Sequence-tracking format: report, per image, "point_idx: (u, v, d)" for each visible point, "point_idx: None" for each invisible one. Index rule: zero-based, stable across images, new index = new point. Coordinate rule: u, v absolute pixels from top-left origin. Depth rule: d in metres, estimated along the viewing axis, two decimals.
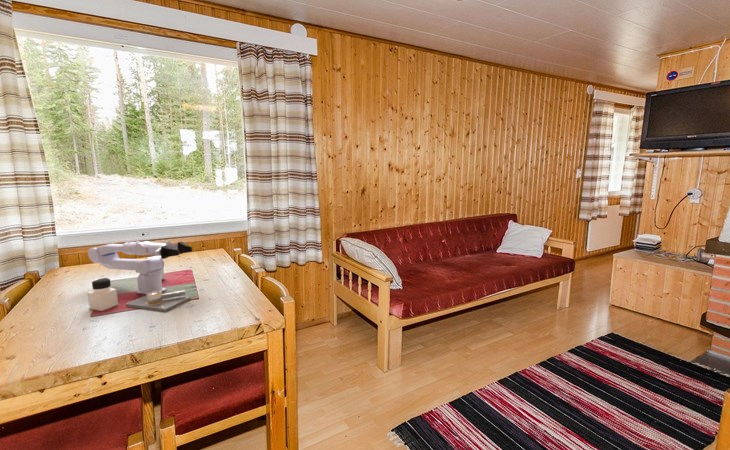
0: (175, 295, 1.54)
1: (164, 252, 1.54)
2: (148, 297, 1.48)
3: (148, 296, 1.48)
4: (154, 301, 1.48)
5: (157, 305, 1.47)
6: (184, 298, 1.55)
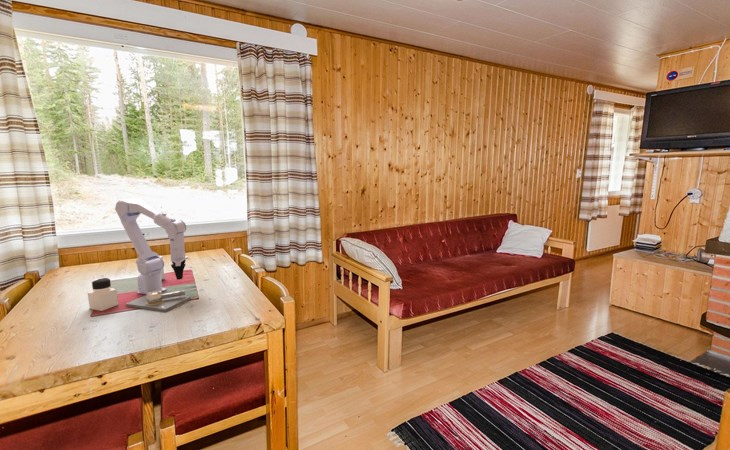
0: (175, 295, 1.54)
1: None
2: (148, 297, 1.48)
3: (148, 296, 1.48)
4: (154, 301, 1.48)
5: (157, 305, 1.47)
6: (184, 298, 1.55)
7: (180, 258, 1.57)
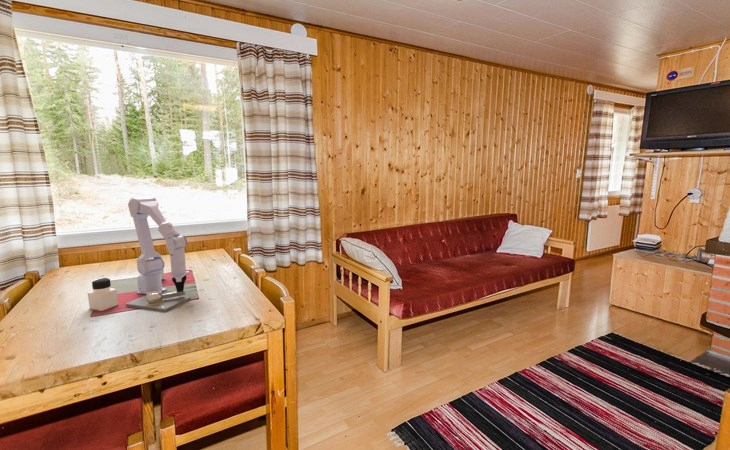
0: (175, 295, 1.54)
1: None
2: (148, 297, 1.48)
3: (148, 296, 1.48)
4: (154, 301, 1.48)
5: (157, 305, 1.47)
6: (184, 298, 1.55)
7: (181, 273, 1.54)
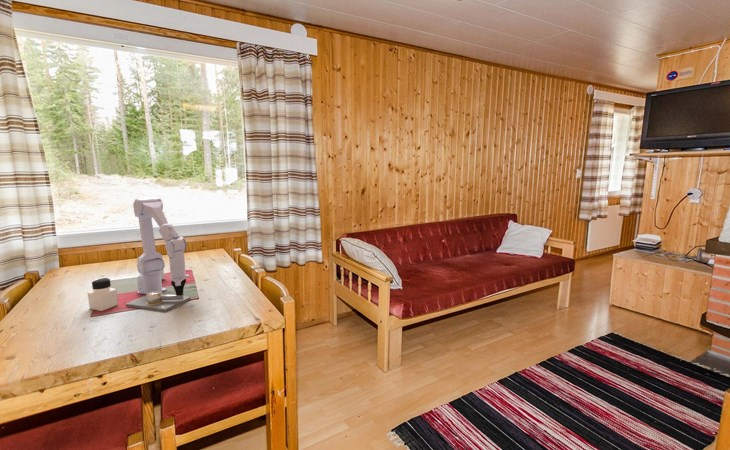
0: (173, 298, 1.51)
1: None
2: (147, 296, 1.49)
3: None
4: (150, 301, 1.48)
5: (157, 305, 1.47)
6: (184, 298, 1.55)
7: (180, 277, 1.50)
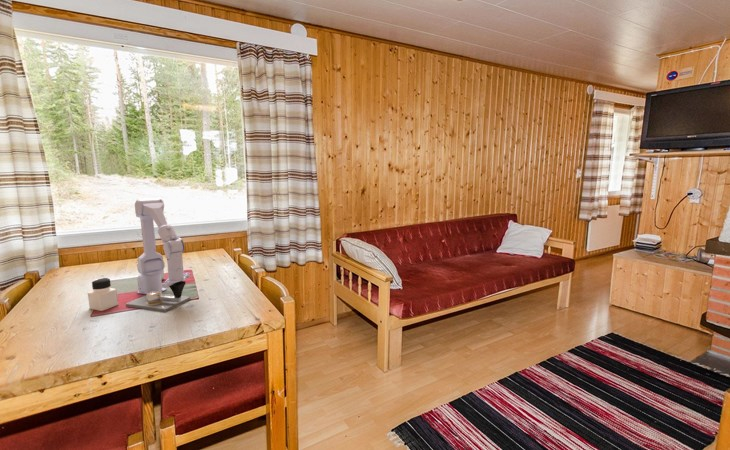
0: (170, 300, 1.49)
1: None
2: None
3: None
4: (149, 301, 1.48)
5: (157, 305, 1.47)
6: (184, 298, 1.55)
7: (173, 279, 1.46)
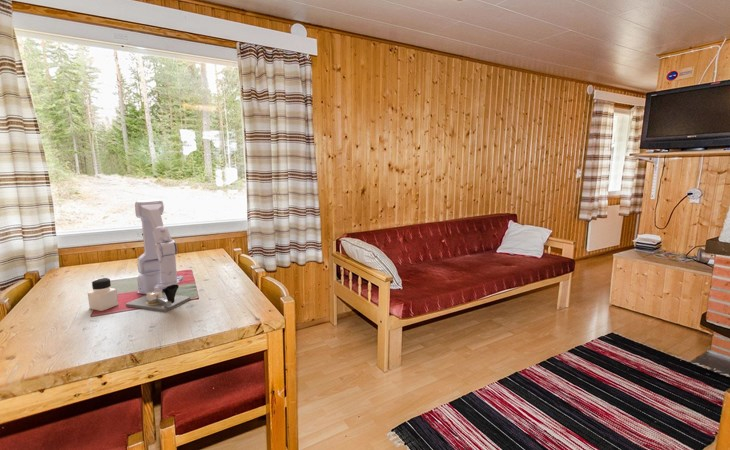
0: (162, 303, 1.46)
1: None
2: None
3: None
4: (147, 301, 1.49)
5: (157, 305, 1.47)
6: (184, 298, 1.55)
7: (166, 283, 1.42)
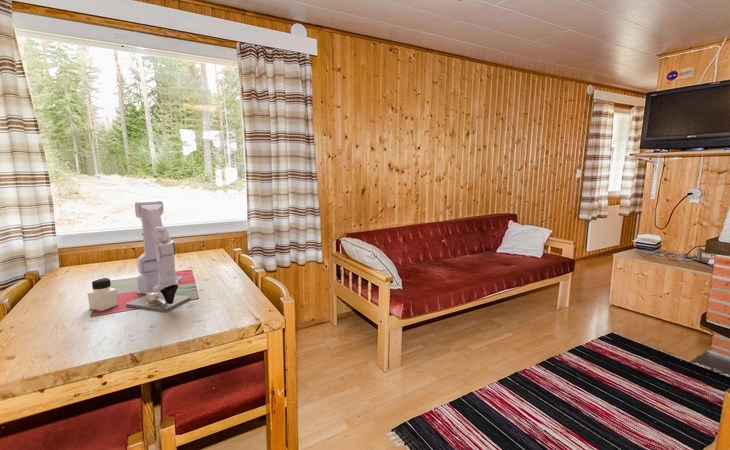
0: (160, 303, 1.45)
1: None
2: None
3: None
4: (147, 300, 1.49)
5: (157, 305, 1.47)
6: (184, 298, 1.55)
7: (165, 283, 1.42)
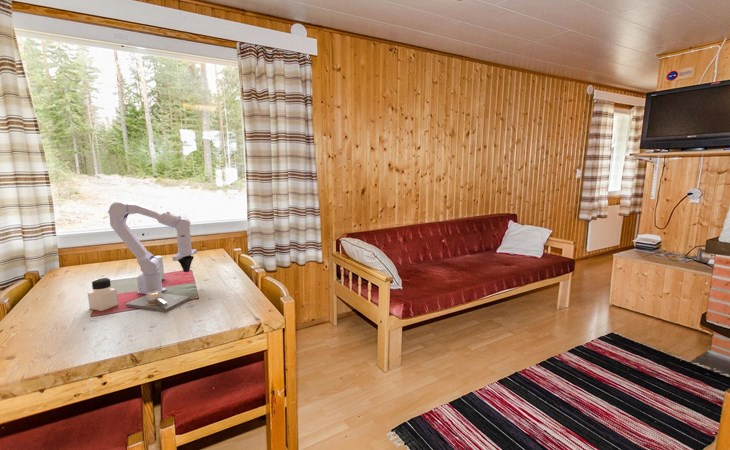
0: (160, 303, 1.45)
1: None
2: None
3: None
4: (147, 300, 1.49)
5: (157, 305, 1.47)
6: (184, 298, 1.55)
7: (182, 254, 1.65)
